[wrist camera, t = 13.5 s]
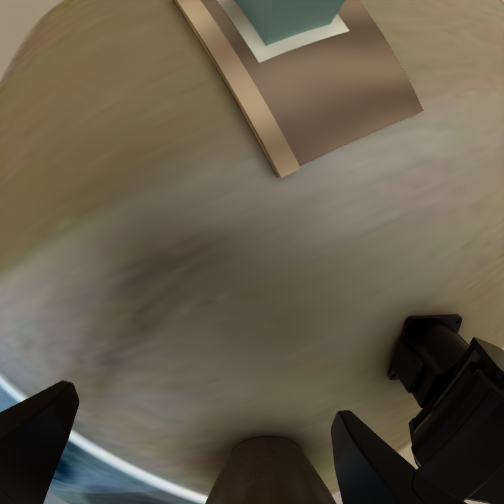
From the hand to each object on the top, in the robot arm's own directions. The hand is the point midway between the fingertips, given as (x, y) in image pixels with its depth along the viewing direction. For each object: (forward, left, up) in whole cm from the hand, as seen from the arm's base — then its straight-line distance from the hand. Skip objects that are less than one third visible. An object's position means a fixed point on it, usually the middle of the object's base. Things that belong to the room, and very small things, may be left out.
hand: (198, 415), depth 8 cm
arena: (-4, -17, -13) cm, 22 cm away
